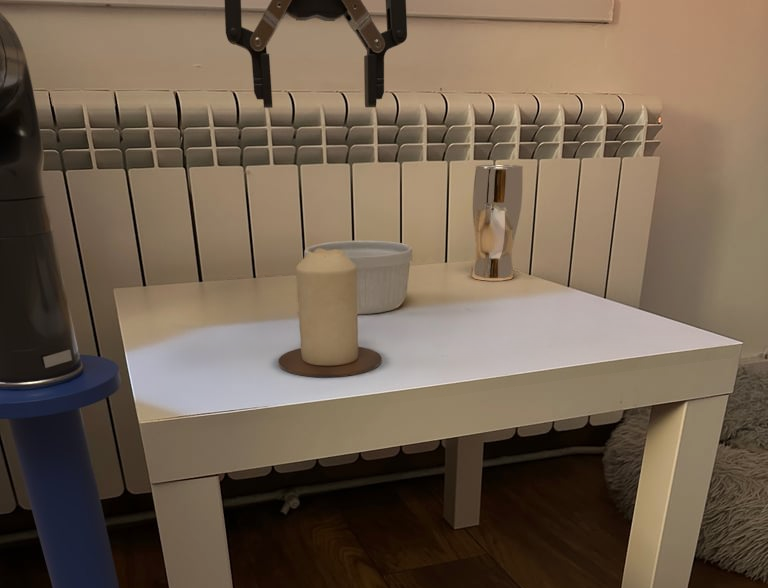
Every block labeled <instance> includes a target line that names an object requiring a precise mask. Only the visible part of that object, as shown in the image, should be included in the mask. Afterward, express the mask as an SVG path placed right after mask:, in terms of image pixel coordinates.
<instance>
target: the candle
mask: <svg viewBox="0 0 768 588" xmlns="http://www.w3.org/2000/svg"><path fill="white" fill-rule="evenodd" d="M295 273H296V274H295V275H296V290H297V305H298V307H297V308H298V321H299V322H298V323H299V324H298V325H299V339H300V348H301V354H302V359H303V361H305V362H307V363H309V364H314V365H323V366H332V365H342V364H347V363H350V362H353V361H355V360H356V359H357V358H358V347H359V325H358V324H359V323H358V322H359V321H358V320H359V319H358V314H357V277H356V266H355V264H354V263H353V262H352V261H351V260H350V259H349V258H348V256H347V255H346V254H345V253H344V252H343V250H338V249H333V250H330V251H326V250H324V249H321V248H318V249H316V250H315V251H314V252H313V253H312V252H310V251H309V252H308V254H307V255H306V256H305V257H303V259H302V260H300V262H299V263H298V264H297V265H296V267H295Z"/></svg>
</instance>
